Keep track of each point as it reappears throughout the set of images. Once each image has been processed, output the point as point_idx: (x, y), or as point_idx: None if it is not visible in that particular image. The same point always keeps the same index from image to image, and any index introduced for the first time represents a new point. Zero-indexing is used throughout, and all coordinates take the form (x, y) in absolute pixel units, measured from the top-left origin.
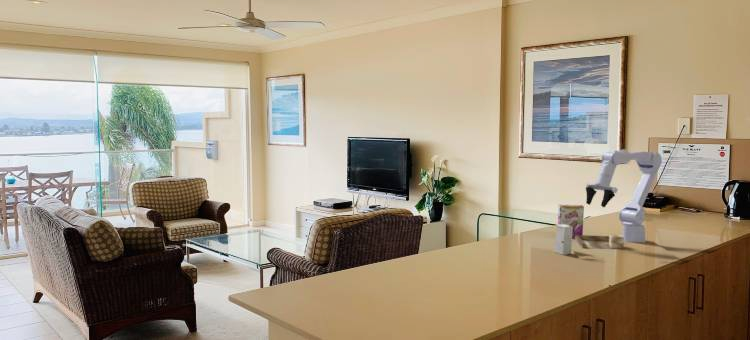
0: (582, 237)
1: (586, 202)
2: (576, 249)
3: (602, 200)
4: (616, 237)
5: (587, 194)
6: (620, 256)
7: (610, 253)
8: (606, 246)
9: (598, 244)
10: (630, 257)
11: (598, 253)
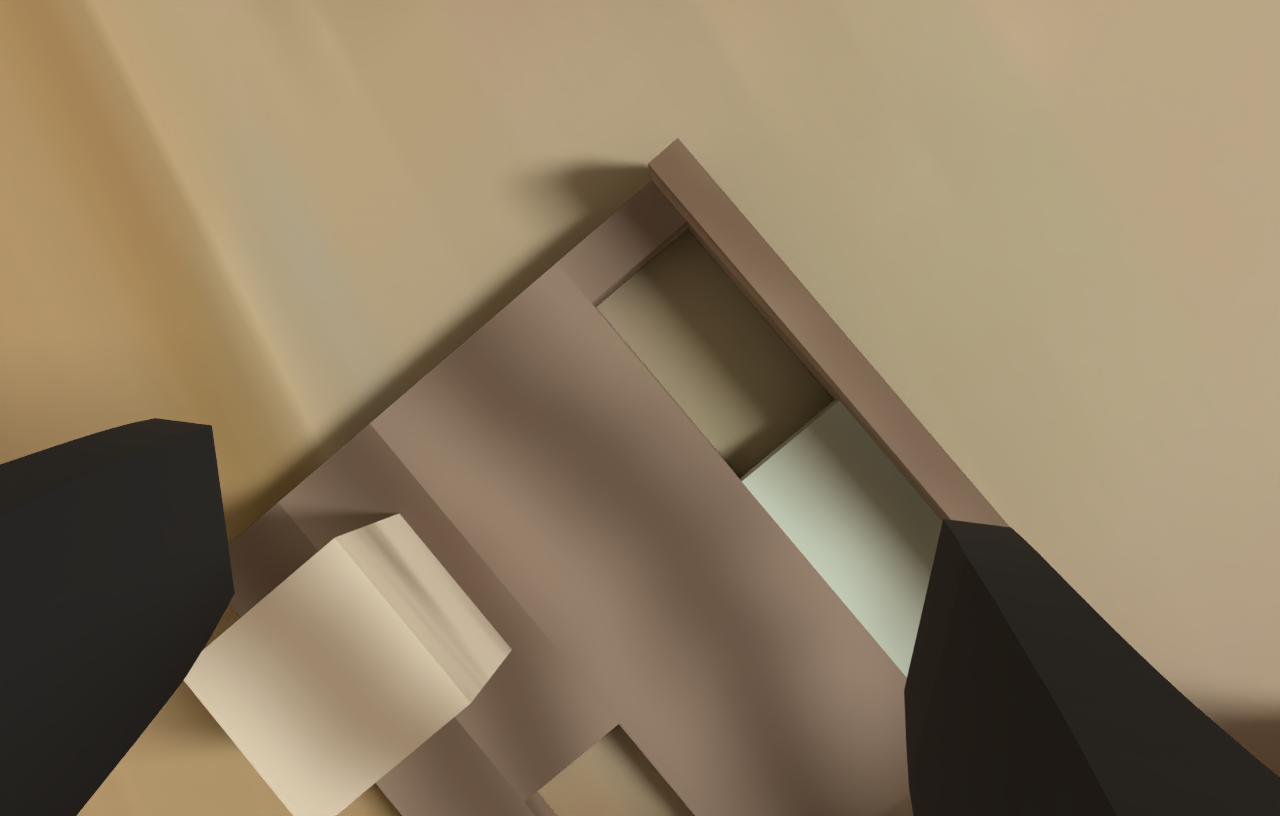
0: None
1: (1009, 534)
2: (791, 182)
3: (26, 503)
4: (277, 587)
5: (1247, 808)
6: (146, 251)
7: (327, 323)
8: (500, 556)
9: (661, 605)
10: (32, 299)
11: (436, 187)
